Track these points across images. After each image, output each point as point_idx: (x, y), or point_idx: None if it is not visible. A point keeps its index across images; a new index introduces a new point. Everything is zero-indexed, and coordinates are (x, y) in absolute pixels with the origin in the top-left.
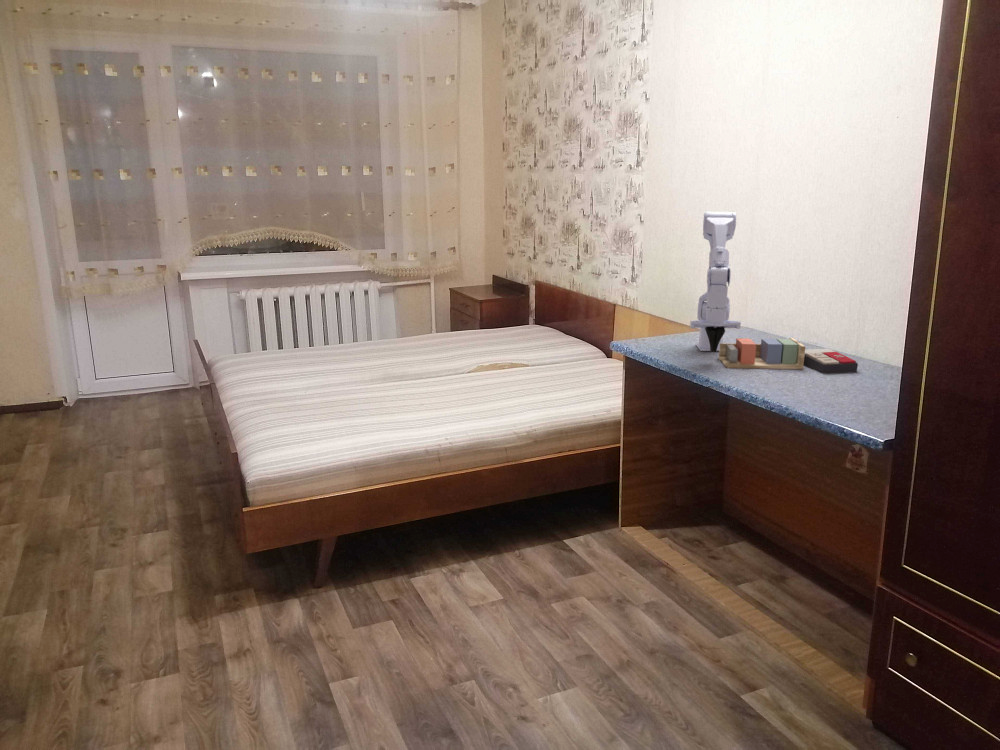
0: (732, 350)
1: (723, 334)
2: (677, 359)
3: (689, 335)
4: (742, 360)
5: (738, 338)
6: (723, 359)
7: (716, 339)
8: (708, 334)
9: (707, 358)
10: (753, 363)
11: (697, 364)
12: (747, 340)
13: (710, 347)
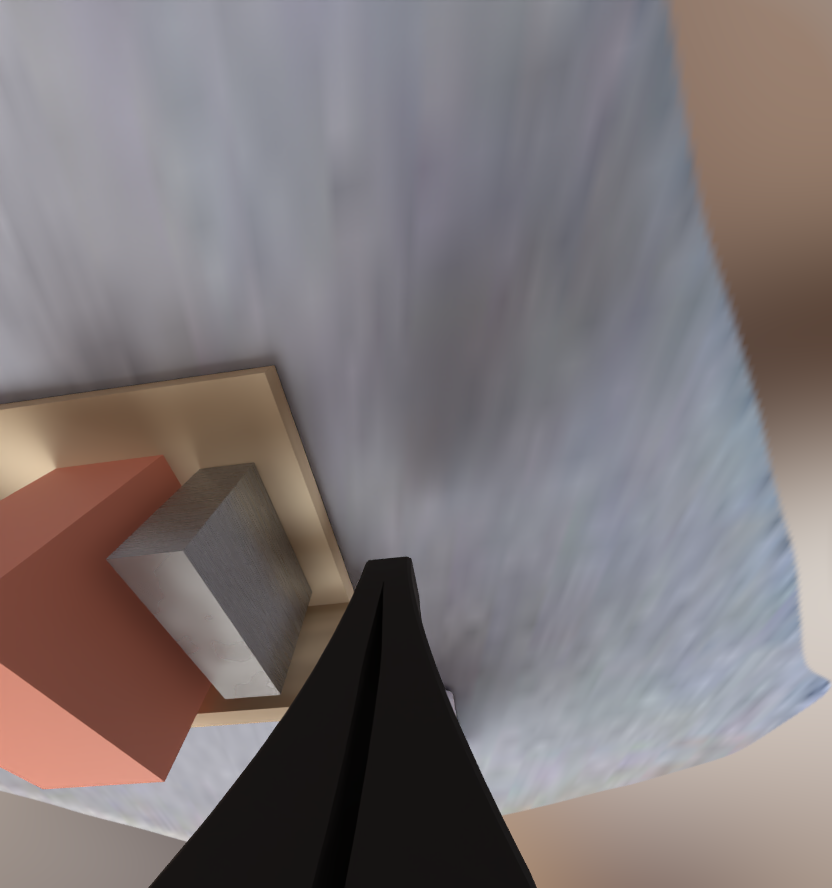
0: (172, 546)
1: (187, 843)
2: (632, 542)
3: None
4: (130, 471)
5: (143, 781)
6: (318, 545)
7: (347, 706)
8: (500, 821)
9: (425, 590)
10: (61, 468)
11: (519, 438)
12: (14, 747)
13: (421, 620)
